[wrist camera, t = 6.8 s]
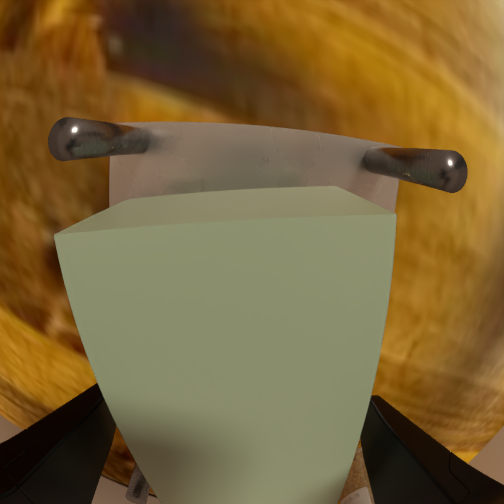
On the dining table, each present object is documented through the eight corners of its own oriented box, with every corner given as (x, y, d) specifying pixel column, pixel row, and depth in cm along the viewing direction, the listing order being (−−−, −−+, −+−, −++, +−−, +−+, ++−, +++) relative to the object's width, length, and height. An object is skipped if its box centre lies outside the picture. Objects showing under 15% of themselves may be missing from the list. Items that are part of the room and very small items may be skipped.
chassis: (121, 124, 11) (32, 113, 6) (392, 147, 12) (486, 153, 6) (142, 420, 16) (117, 500, 10) (325, 432, 17) (344, 513, 11)
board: (128, 199, 9) (53, 234, 5) (335, 186, 9) (396, 214, 5) (188, 459, 12) (178, 527, 9) (316, 455, 12) (328, 524, 9)
